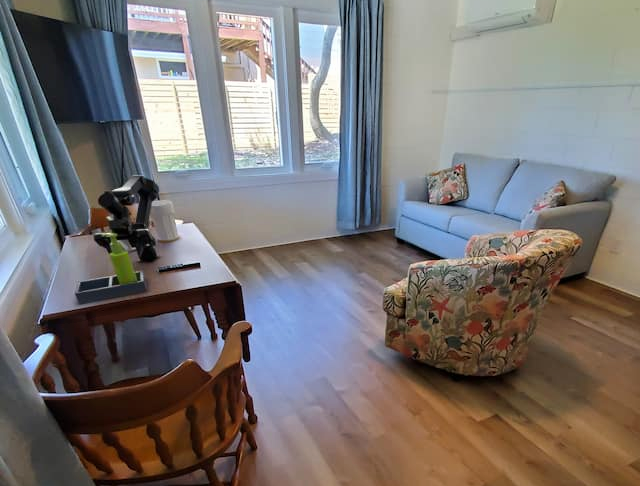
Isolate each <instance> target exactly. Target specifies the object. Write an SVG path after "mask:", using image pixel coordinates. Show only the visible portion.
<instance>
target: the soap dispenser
mask: <svg viewBox="0 0 640 486" xmlns="http://www.w3.org/2000/svg"><path fill="white" fill-rule="evenodd" d="M105 233H106V234H103V235H101V236H109V237H110V239H111V244H110V247H111V249H112V253H110V254H109V253H108V256H109V258H110V261H111V264H112V266H113V268H114V272H115V275H117V277H118V280H119V283H120V285H121V284H127V283H132V282H138V280H137V277H136V275H135V272H136V271H135V269H134V266H133V263H132V260H131V257H130V254H129V252H128V251H126V250H124V249H123V248H122V246H121V243H120V242H117V239H116V236H118V235H117V234H115V233H112V232H105Z"/></svg>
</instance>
